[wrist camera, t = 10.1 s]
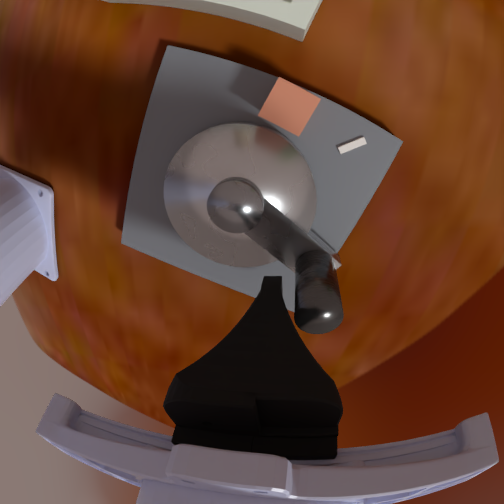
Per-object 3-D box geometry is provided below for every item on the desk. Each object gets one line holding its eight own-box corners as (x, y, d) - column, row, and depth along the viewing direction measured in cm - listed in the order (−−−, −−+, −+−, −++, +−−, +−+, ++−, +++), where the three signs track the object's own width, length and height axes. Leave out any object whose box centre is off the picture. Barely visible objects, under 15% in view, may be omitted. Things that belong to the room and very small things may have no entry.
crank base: (127, 235, 15) (107, 258, 13) (174, 47, 10) (152, 41, 8) (296, 302, 16) (295, 332, 14) (396, 138, 11) (416, 149, 9)
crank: (147, 201, 13) (102, 245, 10) (228, 90, 10) (196, 92, 6) (281, 302, 15) (276, 363, 12) (377, 226, 12) (403, 280, 9)
